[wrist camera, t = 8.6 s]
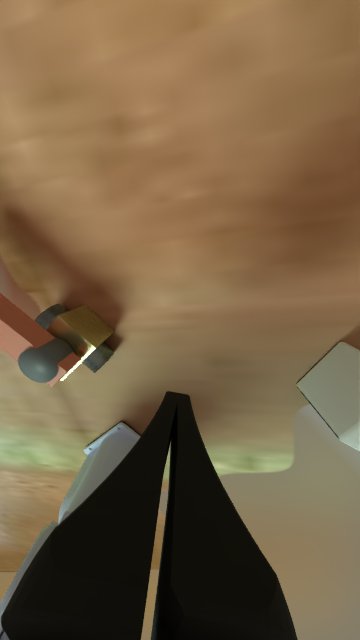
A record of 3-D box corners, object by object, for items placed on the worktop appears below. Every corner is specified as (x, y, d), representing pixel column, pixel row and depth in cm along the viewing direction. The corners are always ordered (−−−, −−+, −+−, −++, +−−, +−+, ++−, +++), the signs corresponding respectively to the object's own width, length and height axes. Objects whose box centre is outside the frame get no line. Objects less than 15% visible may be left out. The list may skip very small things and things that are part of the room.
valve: (96, 368, 23) (75, 392, 19) (45, 325, 21) (10, 341, 17) (125, 341, 21) (109, 360, 17) (72, 292, 19) (41, 301, 15)
